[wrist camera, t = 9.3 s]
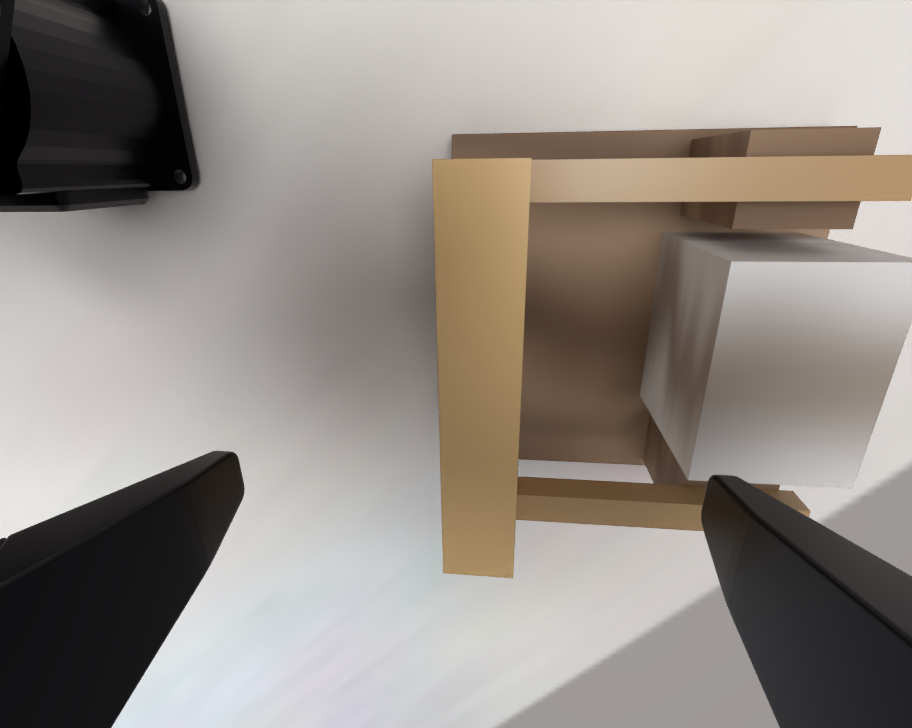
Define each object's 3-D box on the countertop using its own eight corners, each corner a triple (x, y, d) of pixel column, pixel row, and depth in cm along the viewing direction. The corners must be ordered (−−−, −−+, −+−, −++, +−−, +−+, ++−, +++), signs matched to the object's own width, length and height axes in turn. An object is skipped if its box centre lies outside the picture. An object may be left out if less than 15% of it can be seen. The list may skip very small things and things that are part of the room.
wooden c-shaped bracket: (451, 161, 13) (432, 159, 10) (893, 155, 12) (1035, 150, 9) (456, 496, 17) (443, 573, 14) (785, 515, 16) (853, 603, 13)
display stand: (455, 136, 18) (424, 118, 11) (834, 128, 17) (1040, 103, 10) (459, 442, 23) (438, 551, 16) (752, 455, 21) (856, 578, 15)
